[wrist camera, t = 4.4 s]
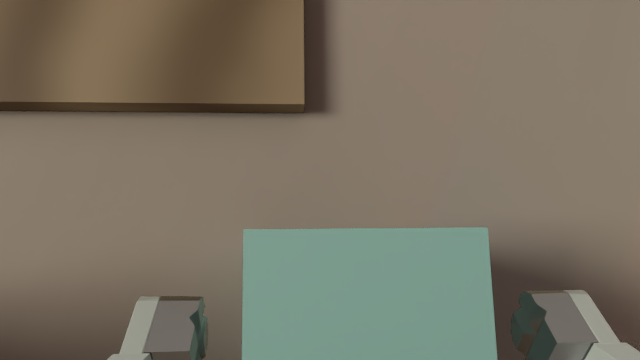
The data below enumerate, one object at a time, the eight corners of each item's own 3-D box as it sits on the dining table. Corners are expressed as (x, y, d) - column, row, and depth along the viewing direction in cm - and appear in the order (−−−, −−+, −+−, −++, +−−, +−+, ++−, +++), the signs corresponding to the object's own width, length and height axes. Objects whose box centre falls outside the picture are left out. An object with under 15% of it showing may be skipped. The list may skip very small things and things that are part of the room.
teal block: (262, 361, 17) (240, 446, 9) (263, 245, 17) (243, 229, 10) (403, 357, 17) (502, 435, 9) (399, 243, 18) (487, 227, 10)
